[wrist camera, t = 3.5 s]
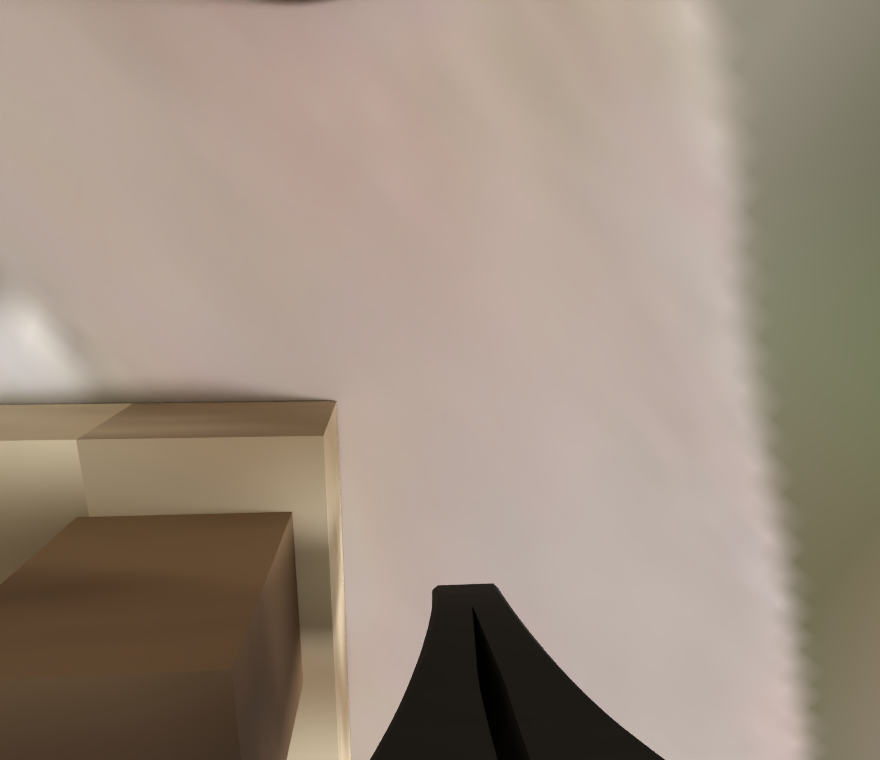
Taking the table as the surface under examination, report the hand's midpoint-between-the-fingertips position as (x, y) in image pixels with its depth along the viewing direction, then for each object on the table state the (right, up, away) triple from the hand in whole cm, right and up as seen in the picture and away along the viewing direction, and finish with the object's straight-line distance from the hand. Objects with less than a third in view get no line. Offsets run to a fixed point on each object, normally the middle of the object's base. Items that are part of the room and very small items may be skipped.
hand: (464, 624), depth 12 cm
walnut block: (-6, 0, +1) cm, 6 cm away
